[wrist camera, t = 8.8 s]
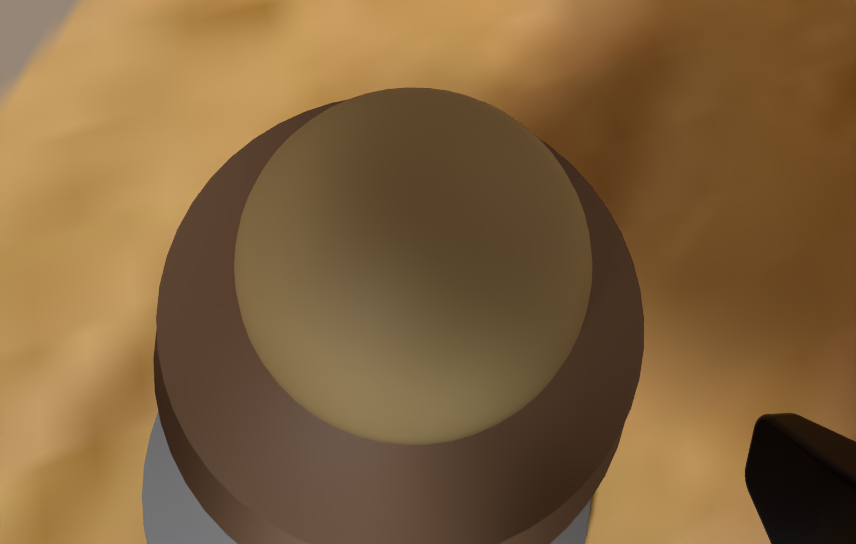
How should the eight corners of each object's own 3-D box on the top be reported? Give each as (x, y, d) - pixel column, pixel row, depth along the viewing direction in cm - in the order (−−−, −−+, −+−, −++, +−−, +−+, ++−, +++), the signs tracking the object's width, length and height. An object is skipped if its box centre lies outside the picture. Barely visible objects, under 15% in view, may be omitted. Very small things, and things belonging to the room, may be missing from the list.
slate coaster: (669, 520, 18) (679, 518, 18) (312, 833, 16) (310, 843, 15) (416, 201, 21) (418, 191, 20) (66, 424, 18) (57, 420, 17)
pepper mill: (505, 443, 18) (928, 106, 5) (401, 619, 16) (594, 853, 3) (347, 340, 18) (328, -222, 5) (232, 503, 17) (-202, 290, 4)
